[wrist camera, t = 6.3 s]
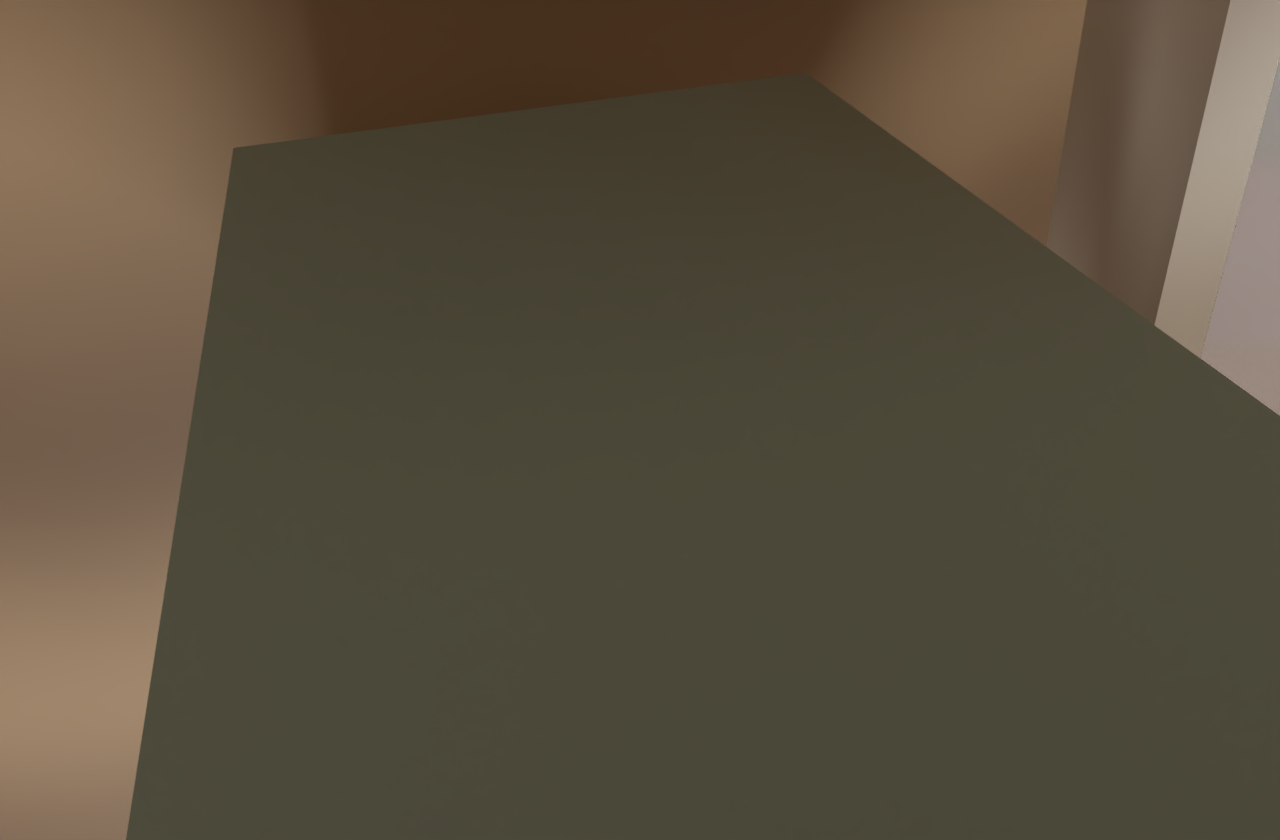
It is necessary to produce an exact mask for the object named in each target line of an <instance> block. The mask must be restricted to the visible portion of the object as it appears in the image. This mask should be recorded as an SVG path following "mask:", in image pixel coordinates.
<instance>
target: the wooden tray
mask: <svg viewBox="0 0 1280 840" xmlns="http://www.w3.org/2000/svg"><path fill="white" fill-rule="evenodd" d="M1279 60H1280V0H0V840H126V836H127V830H128V823H129V817H130V810H131V804H132V797H133V791H134V785H135V778H136V772H137V765H138V759H139V752H140V746H141V740H142V733H143V727H144V720H145V714H146V707H147V701H148V695H149V688H150V682H151V675H152V669H153V662H154V656H155V650H156V643H157V637H158V630H159V624H160V617H161V611H162V605H163V598H164V592H165V585H166V579H167V572H168V566H169V559H170V553H171V547H172V540H173V534H174V527H175V521H176V515H177V508H178V502H179V495H180V489H181V482H182V476H183V469H184V463H185V457H186V450H187V444H188V437H189V431H190V424H191V418H192V412H193V405H194V399H195V392H196V386H197V380H198V373H199V367H200V360H201V354H202V347H203V341H204V334H205V328H206V322H207V315H208V309H209V302H210V296H211V289H212V283H213V277H214V270H215V264H216V257H217V251H218V244H219V238H220V232H221V225H222V219H223V212H224V206H225V199H226V193H227V187H228V180H229V174H230V167H231V161H232V154H233V148H237V147H244V146H252V145H260V144H267V143H275V142H282V141H290V140H298V139H305V138H313V137H320V136H328V135H336V134H343V133H351V132H358V131H366V130H374V129H381V128H389V127H397V126H404V125H412V124H419V123H427V122H435V121H442V120H450V119H457V118H465V117H473V116H480V115H488V114H496V113H503V112H511V111H518V110H526V109H534V108H541V107H549V106H556V105H564V104H572V103H579V102H587V101H595V100H602V99H610V98H617V97H625V96H633V95H640V94H648V93H655V92H663V91H671V90H678V89H686V88H693V87H701V86H709V85H716V84H724V83H732V82H739V81H747V80H754V79H762V78H770V77H777V76H785V75H792V74H800V73H807V74H808V75H809V76H811V77H812V78H814V79H815V80H816V81H818V82H819V83H821V84H822V85H823V86H825V87H826V88H827V89H829V90H830V91H832V92H833V93H834V94H836V95H837V96H838V97H840V98H841V99H843V100H844V101H845V102H847V103H848V104H850V105H851V106H852V107H854V108H855V109H856V110H858V111H859V112H861V113H862V114H863V115H865V116H866V117H867V118H869V119H870V120H872V121H873V122H874V123H876V124H877V125H879V126H880V127H881V128H883V129H884V130H885V131H887V132H888V133H890V134H891V135H892V136H894V137H895V138H896V139H898V140H899V141H901V142H902V143H903V144H905V145H906V146H908V147H909V148H910V149H912V150H913V151H914V152H916V153H917V154H919V155H920V156H921V157H923V158H924V159H925V160H927V161H928V162H930V163H931V164H932V165H934V166H935V167H937V168H938V169H939V170H941V171H942V172H943V173H945V174H946V175H948V176H949V177H950V178H952V179H953V180H954V181H956V182H957V183H959V184H960V185H961V186H963V187H964V188H966V189H967V190H968V191H970V192H971V193H972V194H974V195H975V196H977V197H978V198H979V199H981V200H982V201H983V202H985V203H986V204H988V205H989V206H990V207H992V208H993V209H995V210H996V211H997V212H999V213H1000V214H1001V215H1003V216H1004V217H1006V218H1007V219H1008V220H1010V221H1011V222H1012V223H1014V224H1015V225H1017V226H1018V227H1019V228H1021V229H1022V230H1024V231H1025V232H1026V233H1028V234H1029V235H1030V236H1032V237H1033V238H1035V239H1036V240H1037V241H1039V242H1040V243H1041V244H1043V245H1044V246H1046V247H1047V248H1048V249H1050V250H1051V251H1053V252H1054V253H1055V254H1057V255H1058V256H1059V257H1061V258H1062V259H1064V260H1065V261H1066V262H1068V263H1069V264H1070V265H1072V266H1073V267H1075V268H1076V269H1077V270H1079V271H1080V272H1082V273H1083V274H1084V275H1086V276H1087V277H1088V278H1090V279H1091V280H1093V281H1094V282H1095V283H1097V284H1098V285H1099V286H1101V287H1102V288H1104V289H1105V290H1106V291H1108V292H1109V293H1111V294H1112V295H1113V296H1115V297H1116V298H1117V299H1119V300H1120V301H1122V302H1123V303H1124V304H1126V305H1127V306H1128V307H1130V308H1131V309H1133V310H1134V311H1135V312H1137V313H1138V314H1140V315H1141V316H1142V317H1144V318H1145V319H1146V320H1148V321H1149V322H1151V323H1152V324H1153V325H1155V326H1156V327H1157V328H1159V329H1160V330H1162V331H1163V332H1164V333H1166V334H1167V335H1169V336H1170V337H1171V338H1173V339H1174V340H1175V341H1177V342H1178V343H1180V344H1181V345H1182V346H1184V347H1185V348H1186V349H1188V350H1189V351H1191V352H1192V353H1193V354H1195V355H1196V356H1198V357H1199V358H1200V357H1201V353H1202V350H1203V346H1204V342H1205V338H1206V334H1207V331H1208V327H1209V323H1210V319H1211V316H1212V312H1213V308H1214V304H1215V301H1216V297H1217V293H1218V289H1219V286H1220V282H1221V278H1222V274H1223V270H1224V267H1225V263H1226V259H1227V255H1228V252H1229V248H1230V244H1231V240H1232V237H1233V233H1234V229H1235V225H1236V221H1237V218H1238V214H1239V210H1240V206H1241V203H1242V199H1243V195H1244V191H1245V188H1246V184H1247V180H1248V176H1249V173H1250V169H1251V165H1252V161H1253V157H1254V154H1255V150H1256V146H1257V142H1258V139H1259V135H1260V131H1261V127H1262V124H1263V120H1264V116H1265V112H1266V109H1267V105H1268V101H1269V97H1270V93H1271V90H1272V86H1273V82H1274V78H1275V75H1276V71H1277V67H1278V63H1279Z"/></svg>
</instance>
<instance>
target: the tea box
mask: <svg viewBox="0 0 1280 840" xmlns="http://www.w3.org/2000/svg"><path fill="white" fill-rule="evenodd" d="M126 840H1280V416H1279V415H1278V414H1276V413H1275V412H1273V411H1272V410H1271V409H1269V408H1268V407H1267V406H1265V405H1264V404H1262V403H1261V402H1260V401H1258V400H1257V399H1256V398H1254V397H1253V396H1251V395H1250V394H1249V393H1247V392H1246V391H1244V390H1243V389H1242V388H1240V387H1239V386H1238V385H1236V384H1235V383H1233V382H1232V381H1231V380H1229V379H1228V378H1227V377H1225V376H1224V375H1222V374H1221V373H1220V372H1218V371H1217V370H1215V369H1214V368H1213V367H1211V366H1210V365H1209V364H1207V363H1206V362H1204V361H1203V360H1202V359H1200V358H1199V357H1198V356H1196V355H1195V354H1193V353H1192V352H1191V351H1189V350H1188V349H1186V348H1185V347H1184V346H1182V345H1181V344H1180V343H1178V342H1177V341H1175V340H1174V339H1173V338H1171V337H1170V336H1169V335H1167V334H1166V333H1164V332H1163V331H1162V330H1160V329H1159V328H1157V327H1156V326H1155V325H1153V324H1152V323H1151V322H1149V321H1148V320H1146V319H1145V318H1144V317H1142V316H1141V315H1140V314H1138V313H1137V312H1135V311H1134V310H1133V309H1131V308H1130V307H1128V306H1127V305H1126V304H1124V303H1123V302H1122V301H1120V300H1119V299H1117V298H1116V297H1115V296H1113V295H1112V294H1111V293H1109V292H1108V291H1106V290H1105V289H1104V288H1102V287H1101V286H1099V285H1098V284H1097V283H1095V282H1094V281H1093V280H1091V279H1090V278H1088V277H1087V276H1086V275H1084V274H1083V273H1082V272H1080V271H1079V270H1077V269H1076V268H1075V267H1073V266H1072V265H1070V264H1069V263H1068V262H1066V261H1065V260H1064V259H1062V258H1061V257H1059V256H1058V255H1057V254H1055V253H1054V252H1053V251H1051V250H1050V249H1048V248H1047V247H1046V246H1044V245H1043V244H1041V243H1040V242H1039V241H1037V240H1036V239H1035V238H1033V237H1032V236H1030V235H1029V234H1028V233H1026V232H1025V231H1024V230H1022V229H1021V228H1019V227H1018V226H1017V225H1015V224H1014V223H1012V222H1011V221H1010V220H1008V219H1007V218H1006V217H1004V216H1003V215H1001V214H1000V213H999V212H997V211H996V210H995V209H993V208H992V207H990V206H989V205H988V204H986V203H985V202H983V201H982V200H981V199H979V198H978V197H977V196H975V195H974V194H972V193H971V192H970V191H968V190H967V189H966V188H964V187H963V186H961V185H960V184H959V183H957V182H956V181H954V180H953V179H952V178H950V177H949V176H948V175H946V174H945V173H943V172H942V171H941V170H939V169H938V168H937V167H935V166H934V165H932V164H931V163H930V162H928V161H927V160H925V159H924V158H923V157H921V156H920V155H919V154H917V153H916V152H914V151H913V150H912V149H910V148H909V147H908V146H906V145H905V144H903V143H902V142H901V141H899V140H898V139H896V138H895V137H894V136H892V135H891V134H890V133H888V132H887V131H885V130H884V129H883V128H881V127H880V126H879V125H877V124H876V123H874V122H873V121H872V120H870V119H869V118H867V117H866V116H865V115H863V114H862V113H861V112H859V111H858V110H856V109H855V108H854V107H852V106H851V105H850V104H848V103H847V102H845V101H844V100H843V99H841V98H840V97H838V96H837V95H836V94H834V93H833V92H832V91H830V90H829V89H827V88H826V87H825V86H823V85H822V84H821V83H819V82H818V81H816V80H815V79H814V78H812V77H811V76H809V75H808V74H807V73H800V74H792V75H785V76H777V77H770V78H762V79H754V80H747V81H739V82H732V83H724V84H716V85H709V86H701V87H693V88H686V89H678V90H671V91H663V92H655V93H648V94H640V95H633V96H625V97H617V98H610V99H602V100H595V101H587V102H579V103H572V104H564V105H556V106H549V107H541V108H534V109H526V110H518V111H511V112H503V113H496V114H488V115H480V116H473V117H465V118H457V119H450V120H442V121H435V122H427V123H419V124H412V125H404V126H397V127H389V128H381V129H374V130H366V131H358V132H351V133H343V134H336V135H328V136H320V137H313V138H305V139H298V140H290V141H282V142H275V143H267V144H260V145H252V146H244V147H237V148H233V154H232V161H231V167H230V174H229V180H228V187H227V193H226V199H225V206H224V212H223V219H222V225H221V232H220V238H219V244H218V251H217V257H216V264H215V270H214V277H213V283H212V289H211V296H210V302H209V309H208V315H207V322H206V328H205V334H204V341H203V347H202V354H201V360H200V367H199V373H198V380H197V386H196V392H195V399H194V405H193V412H192V418H191V424H190V431H189V437H188V444H187V450H186V457H185V463H184V469H183V476H182V482H181V489H180V495H179V502H178V508H177V515H176V521H175V527H174V534H173V540H172V547H171V553H170V559H169V566H168V572H167V579H166V585H165V592H164V598H163V605H162V611H161V617H160V624H159V630H158V637H157V643H156V650H155V656H154V662H153V669H152V675H151V682H150V688H149V695H148V701H147V707H146V714H145V720H144V727H143V733H142V740H141V746H140V752H139V759H138V765H137V772H136V778H135V785H134V791H133V797H132V804H131V810H130V817H129V823H128V830H127V836H126Z"/></svg>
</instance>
